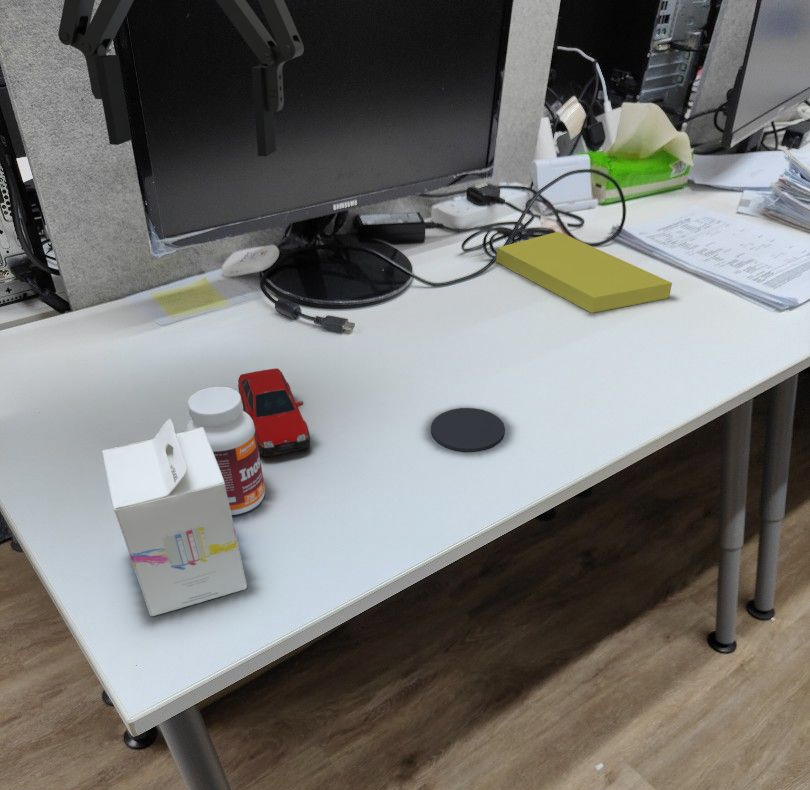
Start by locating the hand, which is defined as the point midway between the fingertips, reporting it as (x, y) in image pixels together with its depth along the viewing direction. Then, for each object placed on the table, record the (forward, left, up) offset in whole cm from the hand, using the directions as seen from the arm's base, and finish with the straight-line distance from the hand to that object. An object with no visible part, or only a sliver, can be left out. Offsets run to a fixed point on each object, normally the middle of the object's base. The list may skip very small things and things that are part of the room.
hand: (193, 148), depth 67 cm
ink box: (+22, -13, -28) cm, 38 cm away
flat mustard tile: (-9, +56, -28) cm, 63 cm away
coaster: (+16, +20, -28) cm, 38 cm away
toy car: (+4, +2, -28) cm, 28 cm away
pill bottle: (+14, -6, -28) cm, 32 cm away
